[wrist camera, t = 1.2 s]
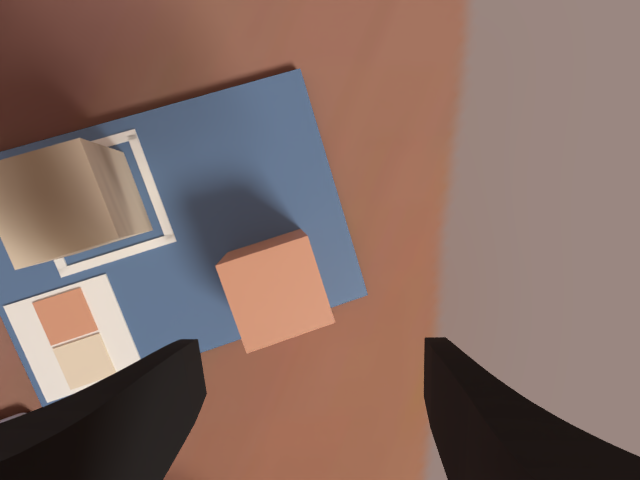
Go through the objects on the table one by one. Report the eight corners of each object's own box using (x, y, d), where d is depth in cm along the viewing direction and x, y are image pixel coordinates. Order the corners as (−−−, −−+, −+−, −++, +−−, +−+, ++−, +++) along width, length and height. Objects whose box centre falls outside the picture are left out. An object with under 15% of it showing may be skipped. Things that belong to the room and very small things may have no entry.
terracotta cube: (252, 322, 21) (246, 353, 17) (227, 252, 21) (215, 265, 16) (322, 298, 22) (335, 322, 17) (300, 228, 21) (307, 235, 17)
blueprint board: (49, 401, 21) (40, 409, 20) (-56, 171, 19) (-70, 170, 18) (365, 292, 23) (368, 295, 22) (299, 72, 21) (300, 67, 20)
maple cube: (73, 254, 20) (15, 270, 15) (40, 176, 19) (-31, 168, 15) (153, 230, 20) (119, 237, 16) (123, 152, 20) (79, 137, 15)
